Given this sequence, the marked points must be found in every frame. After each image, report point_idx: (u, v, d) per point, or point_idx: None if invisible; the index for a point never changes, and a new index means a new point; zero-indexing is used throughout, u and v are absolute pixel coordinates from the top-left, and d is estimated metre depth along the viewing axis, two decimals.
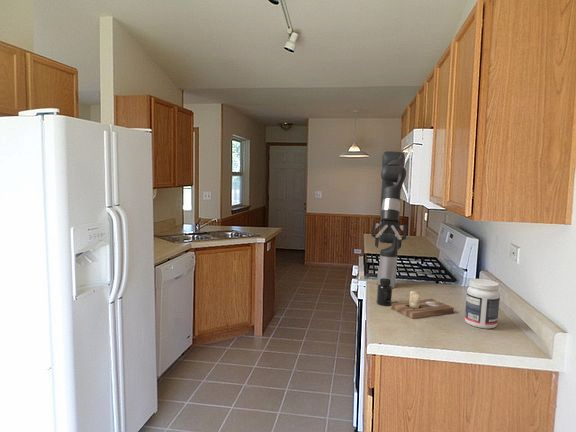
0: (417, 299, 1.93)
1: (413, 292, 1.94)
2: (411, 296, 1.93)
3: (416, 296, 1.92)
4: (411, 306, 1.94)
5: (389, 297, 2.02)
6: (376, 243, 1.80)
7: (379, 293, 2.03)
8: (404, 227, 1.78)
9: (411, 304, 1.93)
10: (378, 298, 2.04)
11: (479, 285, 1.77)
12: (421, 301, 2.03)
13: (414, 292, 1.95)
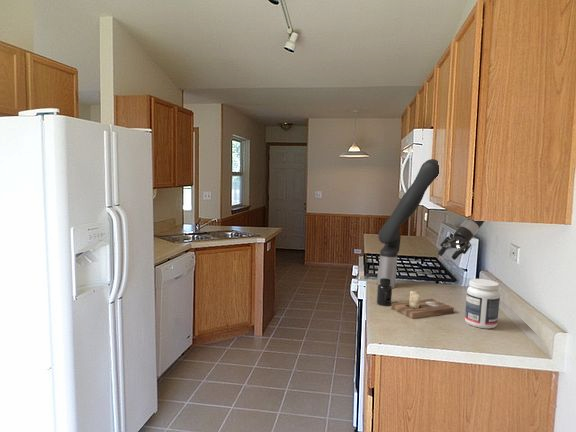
0: (417, 299, 1.93)
1: (413, 292, 1.94)
2: (411, 296, 1.93)
3: (416, 296, 1.92)
4: (411, 306, 1.94)
5: (389, 297, 2.02)
6: None
7: (379, 293, 2.03)
8: None
9: (411, 304, 1.93)
10: (378, 298, 2.04)
11: (479, 285, 1.77)
12: (421, 301, 2.03)
13: (414, 292, 1.95)
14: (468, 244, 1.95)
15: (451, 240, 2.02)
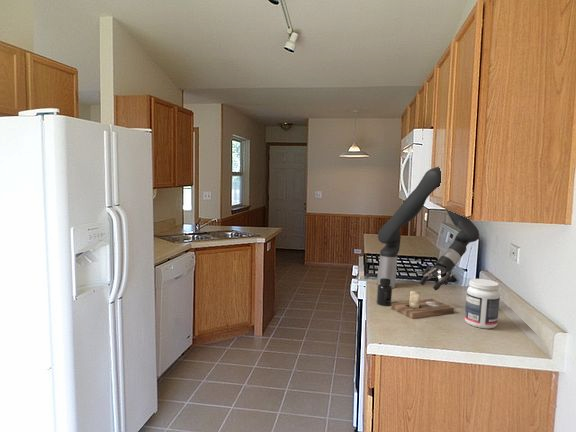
0: (417, 299, 1.92)
1: (413, 292, 1.94)
2: (411, 296, 1.93)
3: (416, 296, 1.92)
4: (411, 306, 1.93)
5: (389, 297, 2.02)
6: None
7: (379, 293, 2.03)
8: None
9: (411, 304, 1.93)
10: (378, 298, 2.04)
11: (479, 285, 1.77)
12: (421, 301, 2.03)
13: (414, 292, 1.94)
14: (450, 275, 1.93)
15: (433, 269, 2.00)
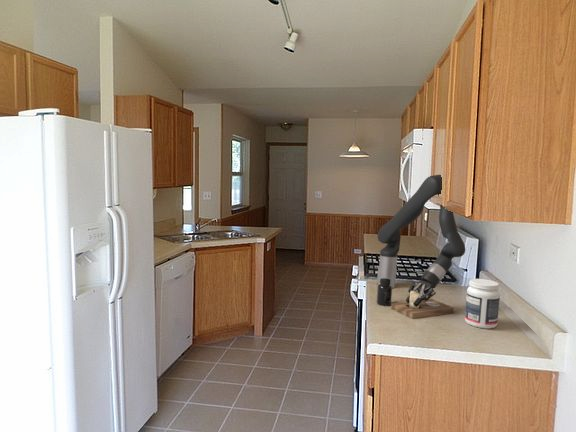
0: None
1: (413, 292, 1.94)
2: (411, 296, 1.93)
3: (416, 296, 1.92)
4: (411, 306, 1.93)
5: (389, 297, 2.02)
6: None
7: (379, 293, 2.03)
8: None
9: (411, 304, 1.93)
10: (378, 298, 2.04)
11: (479, 285, 1.77)
12: (421, 301, 2.03)
13: (414, 292, 1.95)
14: (432, 292, 1.90)
15: (418, 285, 1.97)
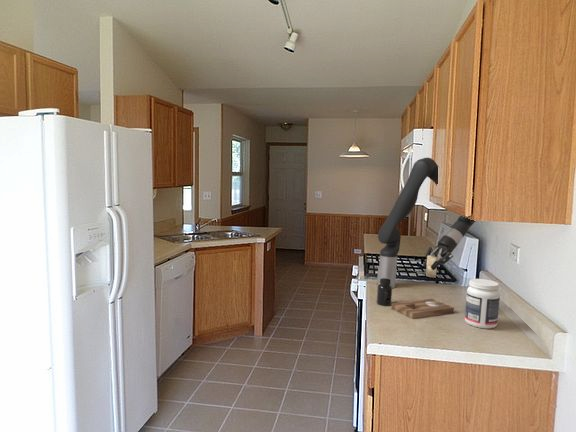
0: None
1: (431, 256, 1.96)
2: (428, 260, 1.95)
3: (433, 260, 1.94)
4: (428, 270, 1.95)
5: (389, 297, 2.02)
6: (435, 267, 1.94)
7: (379, 293, 2.03)
8: None
9: (428, 268, 1.95)
10: (378, 298, 2.04)
11: (479, 285, 1.77)
12: (421, 301, 2.03)
13: (431, 256, 1.96)
14: (449, 255, 1.92)
15: (435, 249, 1.99)
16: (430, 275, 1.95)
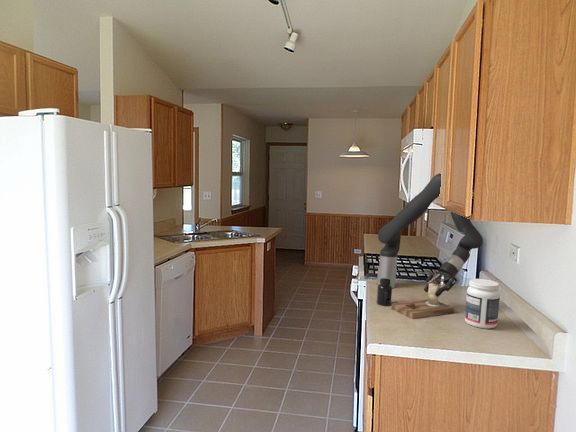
0: None
1: (432, 284, 1.98)
2: (430, 288, 1.98)
3: (435, 288, 1.97)
4: (430, 298, 1.98)
5: (389, 297, 2.02)
6: None
7: (379, 293, 2.03)
8: None
9: (430, 296, 1.98)
10: (378, 298, 2.04)
11: (479, 285, 1.77)
12: (421, 301, 2.03)
13: (433, 284, 1.99)
14: (452, 282, 1.94)
15: (436, 276, 2.01)
16: (432, 303, 1.98)
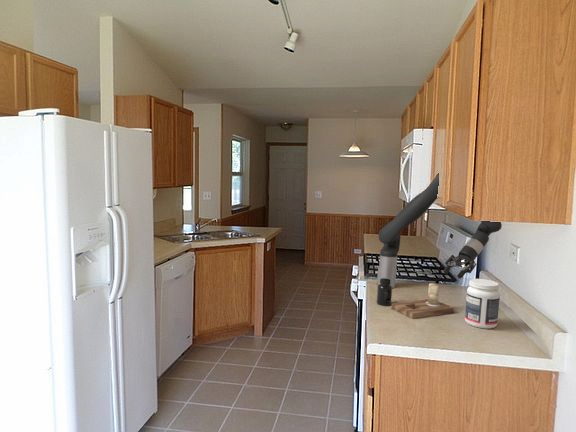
0: (436, 291, 1.97)
1: (432, 284, 1.99)
2: (430, 288, 1.98)
3: (435, 288, 1.97)
4: (430, 298, 1.98)
5: (389, 297, 2.02)
6: None
7: (379, 293, 2.03)
8: None
9: (430, 296, 1.98)
10: (378, 298, 2.04)
11: (479, 285, 1.77)
12: (421, 301, 2.03)
13: (433, 284, 1.99)
14: (473, 263, 1.98)
15: (456, 259, 2.05)
16: (432, 303, 1.98)
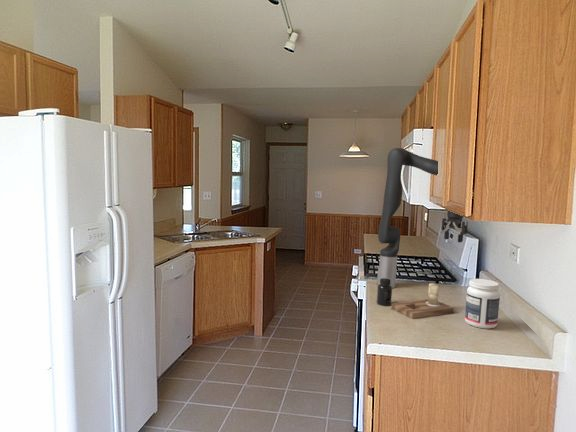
0: (436, 291, 1.97)
1: (432, 284, 1.98)
2: (430, 288, 1.98)
3: (435, 288, 1.97)
4: (430, 298, 1.98)
5: (389, 297, 2.02)
6: None
7: (379, 293, 2.03)
8: None
9: (430, 296, 1.98)
10: (378, 298, 2.04)
11: (479, 285, 1.77)
12: (421, 301, 2.03)
13: (433, 284, 1.99)
14: (465, 224, 2.05)
15: (448, 223, 2.13)
16: (432, 303, 1.98)
